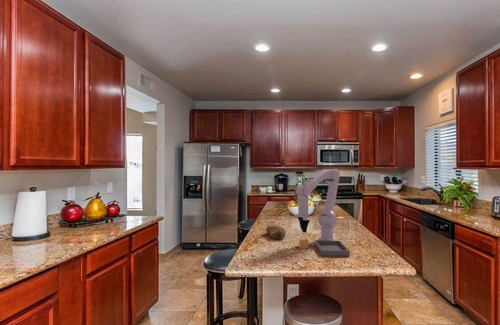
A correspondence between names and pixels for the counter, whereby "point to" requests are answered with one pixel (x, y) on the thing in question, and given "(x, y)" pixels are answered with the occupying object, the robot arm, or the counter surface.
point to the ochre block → (303, 242)
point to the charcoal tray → (332, 248)
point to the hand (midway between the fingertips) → (303, 230)
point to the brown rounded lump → (276, 232)
